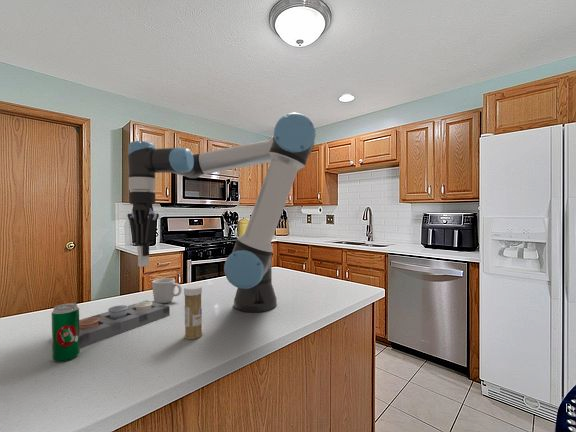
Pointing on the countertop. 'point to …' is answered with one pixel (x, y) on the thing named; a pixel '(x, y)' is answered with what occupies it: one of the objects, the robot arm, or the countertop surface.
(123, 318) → the button panel
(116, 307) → the slate button
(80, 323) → the terracotta button
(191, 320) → the sprinkles bottle
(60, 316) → the soda can
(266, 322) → the countertop surface
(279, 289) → the countertop surface
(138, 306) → the cream button
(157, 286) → the cup
